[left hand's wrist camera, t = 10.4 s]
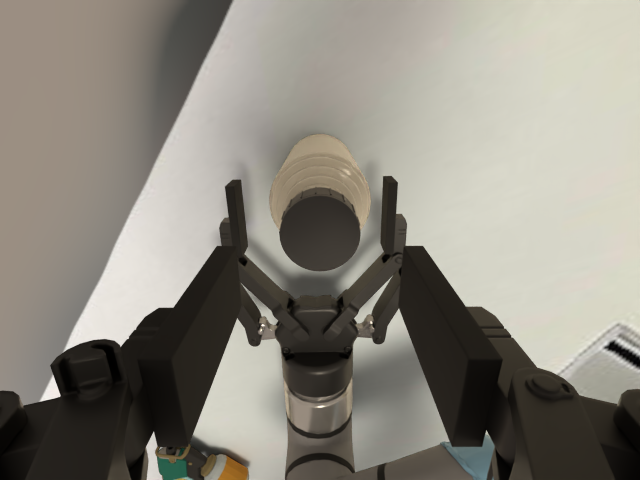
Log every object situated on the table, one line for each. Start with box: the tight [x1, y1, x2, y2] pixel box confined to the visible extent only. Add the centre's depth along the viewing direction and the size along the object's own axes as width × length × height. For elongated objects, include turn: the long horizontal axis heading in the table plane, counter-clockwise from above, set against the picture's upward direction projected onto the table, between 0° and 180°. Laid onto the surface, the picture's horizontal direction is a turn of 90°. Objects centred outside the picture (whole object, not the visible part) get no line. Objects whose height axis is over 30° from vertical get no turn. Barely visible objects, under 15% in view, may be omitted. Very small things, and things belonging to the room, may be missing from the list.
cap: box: [279, 187, 360, 271], centre depth 20 cm, size 4×4×2 cm
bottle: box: [269, 134, 371, 230], centre depth 28 cm, size 7×7×19 cm
